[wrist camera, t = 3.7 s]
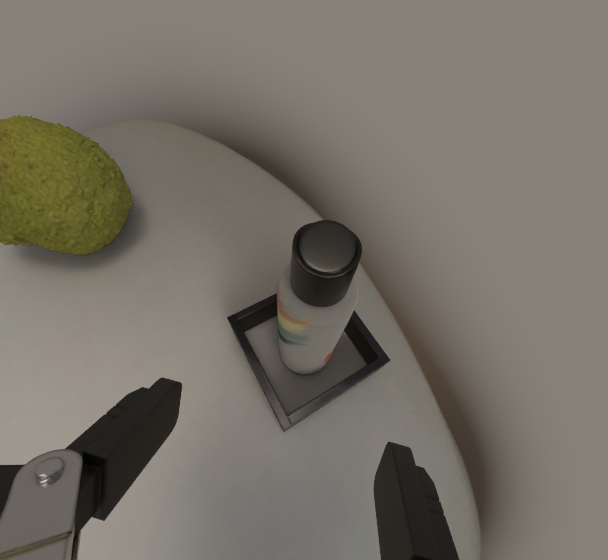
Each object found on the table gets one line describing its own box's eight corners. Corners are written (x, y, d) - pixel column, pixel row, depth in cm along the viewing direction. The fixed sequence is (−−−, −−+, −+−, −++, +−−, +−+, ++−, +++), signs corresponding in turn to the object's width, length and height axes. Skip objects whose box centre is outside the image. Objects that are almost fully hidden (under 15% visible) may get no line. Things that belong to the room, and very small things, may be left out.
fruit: (0, 293, 34) (-154, 164, 25) (78, 232, 45) (-9, 128, 36) (118, 266, 31) (-10, 108, 22) (171, 207, 42) (100, 87, 33)
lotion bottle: (333, 332, 34) (385, 213, 17) (324, 381, 31) (375, 299, 14) (286, 321, 35) (289, 193, 17) (273, 368, 32) (261, 274, 14)
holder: (379, 369, 32) (390, 360, 29) (283, 432, 29) (283, 430, 25) (320, 286, 37) (324, 269, 34) (232, 330, 34) (226, 317, 30)
